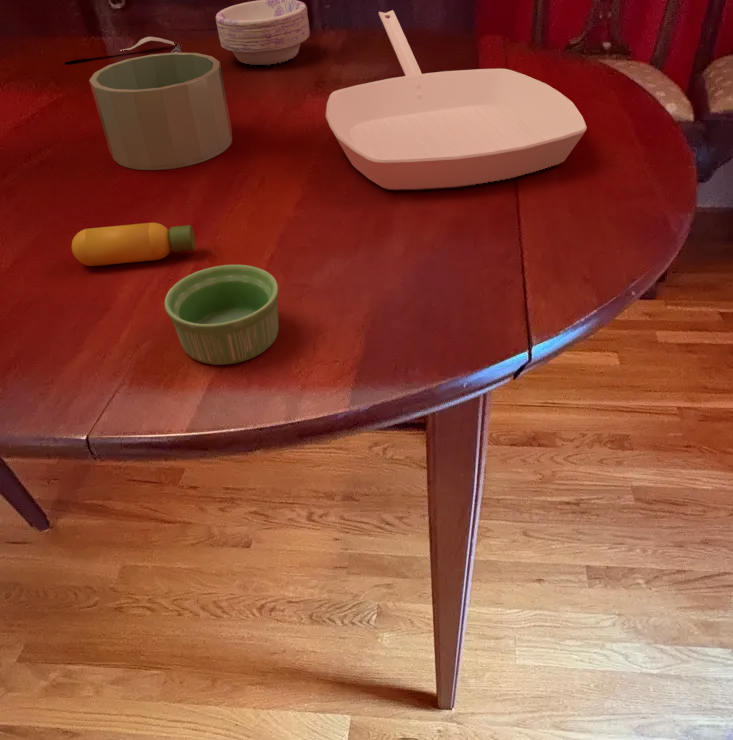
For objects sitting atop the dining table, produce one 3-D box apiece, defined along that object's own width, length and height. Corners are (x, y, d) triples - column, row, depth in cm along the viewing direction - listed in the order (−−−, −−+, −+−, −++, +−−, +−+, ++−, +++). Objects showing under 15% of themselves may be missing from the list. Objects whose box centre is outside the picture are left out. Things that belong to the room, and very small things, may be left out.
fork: (70, 74, 132) (63, 58, 130) (180, 44, 135) (175, 28, 133) (70, 78, 130) (63, 62, 128) (182, 48, 133) (177, 32, 131)
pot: (101, 175, 88) (77, 96, 82) (123, 130, 101) (103, 58, 95) (229, 163, 89) (214, 84, 83) (235, 119, 101) (222, 48, 95)
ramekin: (299, 312, 62) (293, 268, 60) (261, 377, 56) (253, 331, 53) (204, 302, 64) (194, 259, 62) (157, 364, 58) (143, 318, 55)
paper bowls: (205, 65, 123) (195, 14, 118) (266, 42, 133) (259, -6, 128) (269, 77, 116) (262, 23, 111) (330, 52, 125) (325, 2, 120)
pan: (358, 213, 76) (352, 124, 70) (296, 88, 111) (288, 21, 105) (613, 173, 80) (627, 86, 74) (476, 64, 115) (478, -1, 109)
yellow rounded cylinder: (74, 274, 70) (62, 241, 67) (82, 256, 73) (71, 223, 70) (195, 263, 70) (187, 229, 68) (198, 245, 73) (190, 212, 71)
